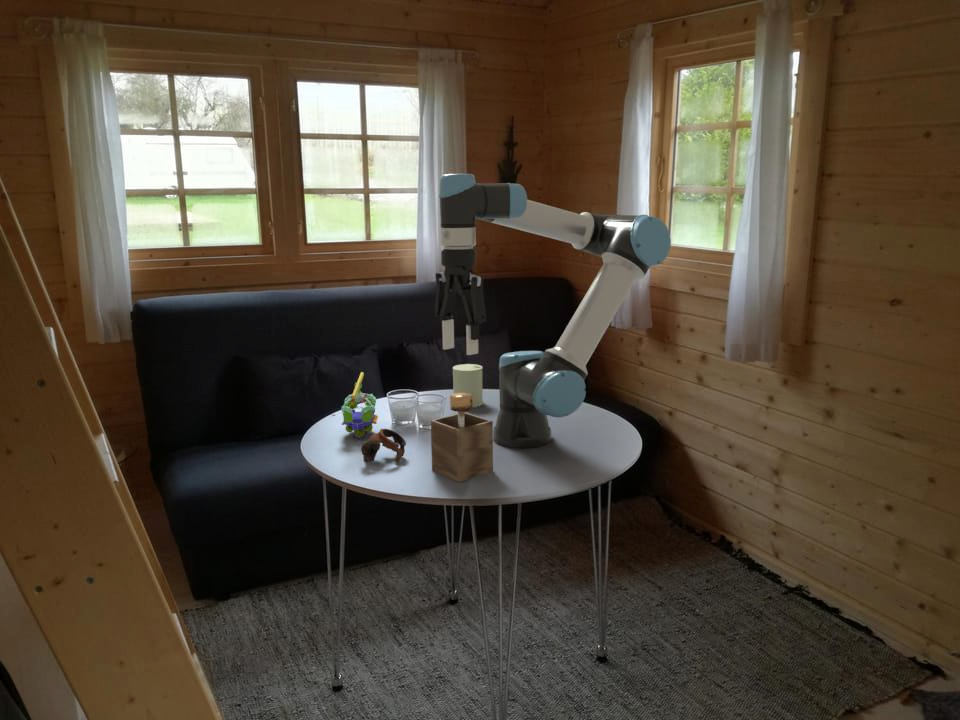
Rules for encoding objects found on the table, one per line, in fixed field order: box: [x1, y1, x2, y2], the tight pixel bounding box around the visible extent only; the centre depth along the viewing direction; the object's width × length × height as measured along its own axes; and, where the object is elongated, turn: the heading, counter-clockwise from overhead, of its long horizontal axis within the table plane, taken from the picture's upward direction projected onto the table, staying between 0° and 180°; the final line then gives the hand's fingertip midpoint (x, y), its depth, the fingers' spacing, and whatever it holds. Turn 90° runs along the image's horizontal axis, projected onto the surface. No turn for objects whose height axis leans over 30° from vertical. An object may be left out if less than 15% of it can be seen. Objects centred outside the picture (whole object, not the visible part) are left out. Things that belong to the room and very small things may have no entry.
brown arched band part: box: [360, 428, 407, 463], centre depth 174 cm, size 12×10×8 cm
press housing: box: [430, 411, 494, 483], centre depth 166 cm, size 10×10×12 cm
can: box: [452, 363, 484, 408], centre depth 221 cm, size 9×9×12 cm
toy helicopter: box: [341, 371, 379, 440], centre depth 192 cm, size 25×9×15 cm, turn 4°
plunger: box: [449, 393, 473, 429], centre depth 165 cm, size 8×8×16 cm
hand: (460, 351), depth 161 cm, fingers open, 8 cm apart
